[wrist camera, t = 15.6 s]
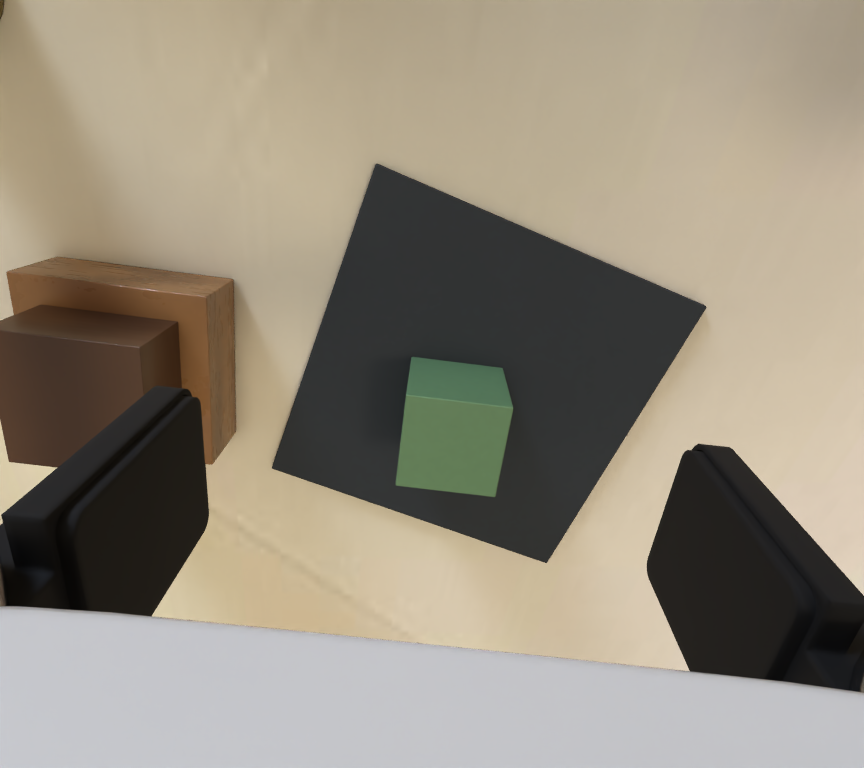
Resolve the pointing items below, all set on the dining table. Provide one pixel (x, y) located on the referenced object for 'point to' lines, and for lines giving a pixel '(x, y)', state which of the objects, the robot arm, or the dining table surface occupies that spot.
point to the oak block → (159, 299)
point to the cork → (1, 7)
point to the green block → (454, 427)
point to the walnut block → (76, 376)
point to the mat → (479, 360)
